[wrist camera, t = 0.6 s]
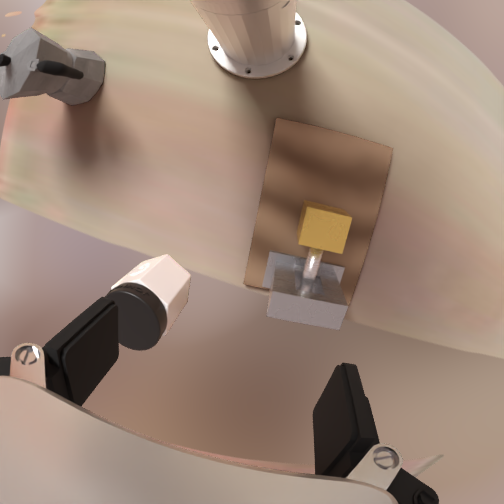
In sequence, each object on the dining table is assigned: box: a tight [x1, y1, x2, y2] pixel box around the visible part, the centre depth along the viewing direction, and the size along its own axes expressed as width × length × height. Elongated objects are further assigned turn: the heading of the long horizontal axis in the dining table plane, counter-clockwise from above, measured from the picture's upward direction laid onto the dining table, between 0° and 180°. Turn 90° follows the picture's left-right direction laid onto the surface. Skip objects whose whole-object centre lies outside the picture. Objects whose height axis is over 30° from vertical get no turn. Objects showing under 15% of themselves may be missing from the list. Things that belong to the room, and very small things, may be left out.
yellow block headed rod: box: [297, 200, 352, 292], centre depth 33 cm, size 14×5×5 cm, turn 169°
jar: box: [105, 254, 191, 350], centre depth 37 cm, size 9×8×12 cm
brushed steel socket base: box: [262, 250, 348, 330], centre depth 34 cm, size 5×10×10 cm, turn 79°
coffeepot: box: [0, 28, 105, 105], centre depth 25 cm, size 15×9×18 cm, turn 66°
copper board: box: [244, 118, 393, 306], centre depth 36 cm, size 22×15×1 cm
